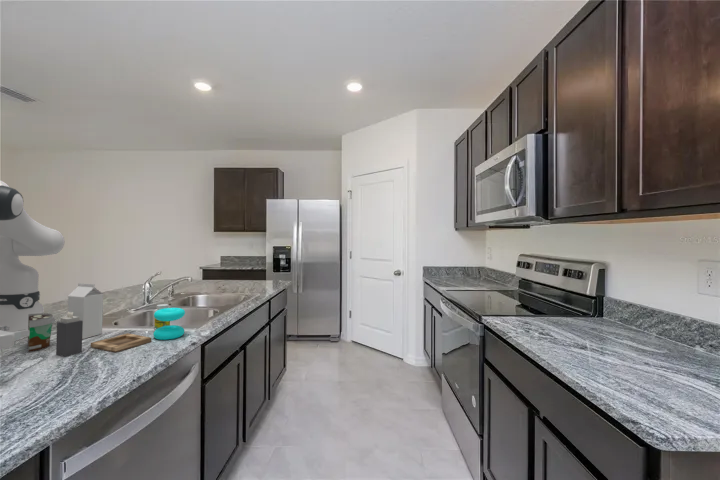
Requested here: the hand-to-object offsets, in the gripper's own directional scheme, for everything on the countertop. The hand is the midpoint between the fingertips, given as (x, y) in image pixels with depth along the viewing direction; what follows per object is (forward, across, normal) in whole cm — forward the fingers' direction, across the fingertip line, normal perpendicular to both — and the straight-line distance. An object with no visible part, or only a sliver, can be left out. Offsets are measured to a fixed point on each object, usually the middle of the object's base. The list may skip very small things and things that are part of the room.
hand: (17, 330), depth 89 cm
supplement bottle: (+44, 0, +10) cm, 45 cm away
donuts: (+38, -12, +10) cm, 41 cm away
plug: (+12, 0, +10) cm, 16 cm away
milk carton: (+26, +16, +10) cm, 31 cm away
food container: (+13, +15, +10) cm, 23 cm away
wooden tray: (+24, -6, +10) cm, 27 cm away
